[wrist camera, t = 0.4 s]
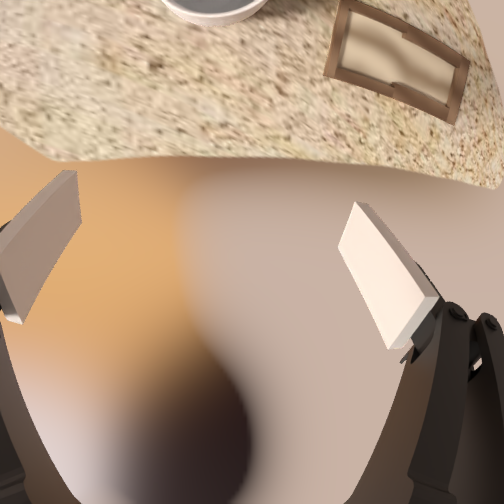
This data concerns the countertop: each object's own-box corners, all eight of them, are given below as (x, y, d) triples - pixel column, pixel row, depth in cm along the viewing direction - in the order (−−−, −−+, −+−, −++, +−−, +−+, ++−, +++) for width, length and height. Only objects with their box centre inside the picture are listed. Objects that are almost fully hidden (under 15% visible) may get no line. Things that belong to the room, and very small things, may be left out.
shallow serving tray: (339, -2, 26) (343, -4, 25) (464, 60, 30) (469, 61, 29) (322, 75, 33) (326, 76, 31) (448, 123, 37) (454, 125, 35)
